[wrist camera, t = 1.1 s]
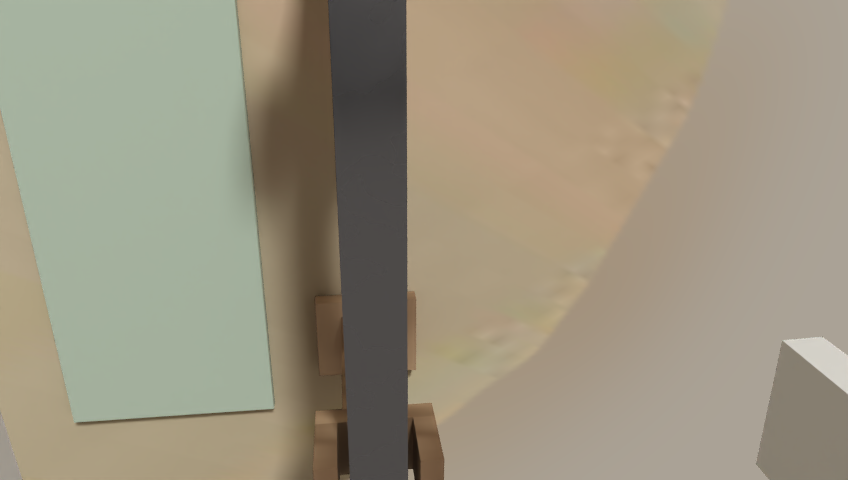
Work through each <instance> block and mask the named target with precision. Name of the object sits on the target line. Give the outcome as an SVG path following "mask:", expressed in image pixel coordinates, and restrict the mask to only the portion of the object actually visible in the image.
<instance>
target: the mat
mask: <svg viewBox="0 0 848 480" xmlns="http://www.w3.org/2000/svg"><path fill="white" fill-rule="evenodd" d="M0 109H1V113H2V118H3V122H4V126H5V130H6V135H7V139H8V143H9V147H10V152H11V156H12V160H13V164H14V169H15V173H16V177H17V181H18V186H19V190H20V194H21V198H22V203H23V207H24V211H25V215H26V220H27V224H28V228H29V232H30V237H31V241H32V245H33V249H34V254H35V258H36V262H37V266H38V271H39V275H40V279H41V283H42V288H43V292H44V296H45V300H46V305H47V309H48V313H49V317H50V322H51V326H52V330H53V334H54V339H55V343H56V347H57V351H58V356H59V360H60V364H61V368H62V373H63V377H64V381H65V385H66V390H67V394H68V398H69V402H70V407H71V411H72V415H73V419H74V422H88V421H103V420H117V419H132V418H146V417H161V416H176V415H190V414H205V413H219V412H234V411H248V410H263V409H274V405H275V400H274V390H273V379H272V369H271V358H270V348H269V337H268V327H267V316H266V305H265V295H264V284H263V274H262V263H261V253H260V242H259V231H258V221H257V210H256V200H255V189H254V179H253V168H252V158H251V147H250V136H249V126H248V115H247V105H246V94H245V84H244V73H243V62H242V52H241V41H240V31H239V20H238V10H237V0H0Z"/></svg>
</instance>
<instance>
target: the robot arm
mask: <svg viewBox="0 0 848 480" xmlns="http://www.w3.org/2000/svg"><path fill="white" fill-rule="evenodd" d="M756 465H757V466H758V467H759V468H760V469H761V470H762V472H763V473H764V474H765V475H766V476H767V477H768V479H770V480H848V356H847V355H846V354H845V353H843V352H842V351H840V350H839V349H838V348H837V347H835V346H834V345H832V344H831V343H830V342H829V341H827V340H826V339H824V338H823V337H816V338H804V339H793V340H783V341H782V344H781V349H780V354H779V358H778V364H777V368H776V373H775V377H774V382H773V387H772V391H771V396H770V401H769V406H768V410H767V415H766V420H765V424H764V429H763V434H762V438H761V443H760V448H759V453H758V457H757V462H756ZM0 480H22V477H21V474H20V471H19V468H18V465H17V462H16V459H15V455H14V452H13V449H12V446H11V443H10V440H9V437H8V434H7V430H6V427H5V424H4V421H3V418H2V415H1V412H0Z"/></svg>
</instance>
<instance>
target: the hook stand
mask: <svg viewBox="0 0 848 480" xmlns="http://www.w3.org/2000/svg"><path fill="white" fill-rule="evenodd" d="M315 312H316V328H317V344H318V359H319V375H320V376H323V375H339V374H342V409H336V410H322V411H316V415H315V436H314V456H313V480H340V475H343V474H350V468H349V446H348V424H347V402H346V380H345V358H344V336H343V314H342V295H329V296H315ZM407 360H408V370H416V297H415V293H414V291H410V292H407ZM408 469H413V471H414V477H415V480H444V456H443V452H442V447H441V443H440V438H439V434H438V429H437V425H436V420H435V416H434V411H433V407H432V403H423V404H408Z"/></svg>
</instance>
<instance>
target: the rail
mask: <svg viewBox="0 0 848 480" xmlns="http://www.w3.org/2000/svg"><path fill="white" fill-rule="evenodd" d="M328 6H329V28H330V50H331V72H332V94H333V116H334V138H335V160H336V182H337V204H338V226H339V248H340V270H341V292H342V314H343V336H344V358H345V380H346V402H347V424H348V446H349V468H350V480H408V360H407V75H406V0H328Z"/></svg>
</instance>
